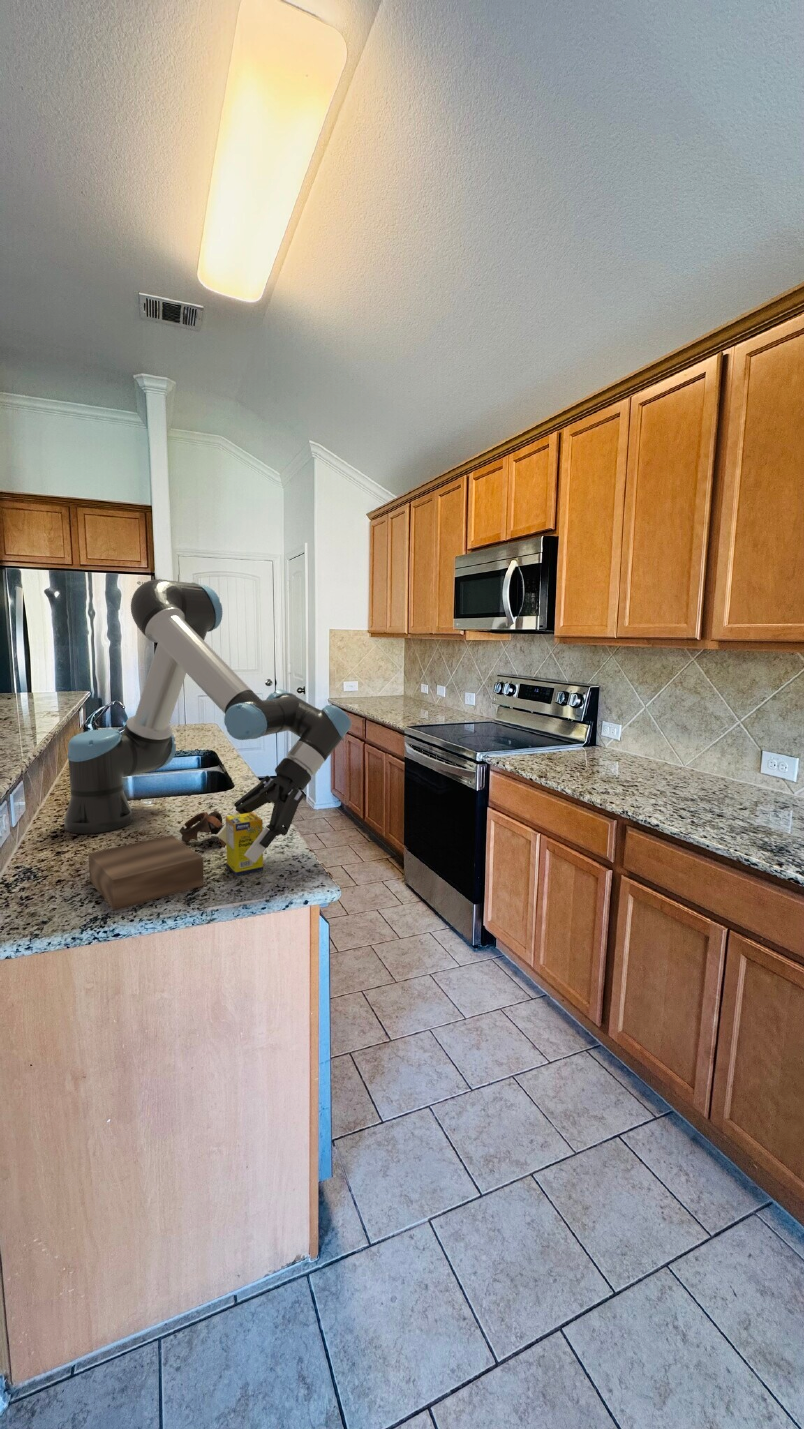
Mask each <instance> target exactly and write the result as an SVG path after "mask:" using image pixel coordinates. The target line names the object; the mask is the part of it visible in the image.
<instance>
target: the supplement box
mask: <svg viewBox="0 0 804 1429" xmlns="http://www.w3.org/2000/svg"><path fill="white" fill-rule="evenodd" d="M225 824H226V845H225V846H226V848H225V849H226V867H227V868H228V869H229V871H231V872H232V873H233V875H234V876H236V877H237V876H241V875H246V874H249V873H250V874H252V873H255V872H259V871H260V872H261V871H263V870H264V852H263V853H262V854H261V856H260V857H259V858H258V860H257V861H256V862H255V863H254V862H253V861H251V860H250V859H249V858H247V857H246V856H245V855H244V854H245V853H246V851H247V850H248V849H249V848H250V846H251V845H252V844H253V842H254V841H255V840H256V839H257V837H258V836H259V835H260V833H261V832H262V831H263V830H264V828H263V819H262V818H261V817H260V816H258V815H257V814H255V813H254V811H252V812H251V813H245V814H239V815H233V814H231V815H226V817H225Z"/></svg>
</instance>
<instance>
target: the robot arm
mask: <svg viewBox="0 0 804 1429" xmlns="http://www.w3.org/2000/svg"><path fill="white" fill-rule="evenodd" d="M130 611H131V612H130V613H131V617H132V619H133V621H134V624H135V625H136V626H137V628H138V630H140V632H141V633H142V635H143V636H145V637H146V638H147V640H148V641H150V642H152V643H157V645H156V648H155V650H154V654H153V657H152V661H151V662H150V667H149V670H148V673H147V677H146V680H145V683H144V686H143V689H142V693H141V695H140V700H139V702H138V705H137V708H136V712H135V715H133V716H131V717H128V718H127V720H126V721H125V722H126V723H125V726H124V728H123V731H122V732H121V731H120V730H119V729H116V728H100V729H92V730H87V731H82V732H81V733H77V734H75V735H74V736H73V737H71V738H70V739H69V741H68V744H67V759H68V769H69V770H68V773H69V790H70V799H69V803H68V806H67V809H66V812H65V815H64V820H63V823H64V830H65V831H66V832H69V833H72V834H82V835H83V834H86V835H88V834H98V833H99V834H101V833H107V832H111V831H115V830H119V829H121V828H124V827H126V826H128V825H130V824H132V822H133V811H132V809H131V806H130V803H129V802H128V799H127V797H126V794H125V792H124V778H127V777H131V776H132V777H133V776H135V775H140V774H144V773H148V772H149V773H151V772H155V771H158V770H160V769H161V768H164V767H166V766H167V765H169V764H170V763H171V762H172V760H173V759H174V757H175V754H176V751H177V744H176V743H175V741H176V737H175V736H174V733H173V728H172V727H171V725H170V723H171V720H172V716H173V714H174V710H175V708H176V705H177V701H178V699H179V697H180V692H181V691H182V687H183V684H184V681H185V679H186V676H187V675H188V677H190V678H191V679H192V681H193V682H194V683H195V684H196V685H197V686H198V687H199V688H200V689H201V690H202V692H204V693H205V694H206V696H207V697H208V698H209V699H211V701H212V702H213V704H215V706H217V707H218V708H219V709H220V710H221V711H222V713H224V717H223V718H224V720H223V721H224V726H225V727H226V731H227V733H228V734H229V735H230V737H232V738H234V740H235V739H236V740H239V741H240V740H241V741H244V740H245V741H246V740H256V739H259V738H261V737H265V736H270V735H273V734H279V733H282V732H286V731H287V732H288V731H289V732H291V733H292V734H294V735H295V736H297V737H300V738H299V739H298V740H297V741H296V742H295V744H294V745H293V746H291V748H290V750H289V751H288V752H287V753H286V756H287V757H284V758H282V760H281V761H280V762H279V763H278V764H277V766H276V767H275V768H274V773H275V774H276V776H275V777H274V778H273V779H272V777H271V776H269V775H266V776H264V778H263V779H262V780H261V781H260V782H259V783H258V784H256V785H255V786H254V787H253V788H251V789H250V790H249V791H248V792H246V793H245V794H244V795H243V796H241V797H240V798H239V799H238V800H237V801H235V802H234V804H233V806H234V807H235V812H234V813H233V814H232V815H239V814H245V813H252V812H255V811H256V810H257V809H259V808H262V806H264V805H266V804H271V803H272V804H273V807H272V811H271V817H270V820H269V824H267V825H266V826H265V827H264V828H263V831H262V832H261V833H260V835H259V836H258V837H257V839H256V840H255V841H254V842H253V844H252V845H251V846H250V848H249V849H248V850H247V851H246V853H245V854H244V855H245V856H246V857H247V858H249V859H250V860H251V861H253V862H254V863H255V862H256V861H257V860H258V858H259V857H260V856H261V854H262V853H263V854H264V852H265V851H266V849H267V848H268V847H270V845H271V843H272V842H273V841H274V840H275V838H276V837H278V836H280V835H282V836H286V835H287V834H288V832H289V831H290V828H291V825H292V823H293V820H294V817H295V816H296V811H297V809H298V807H299V805H300V803H301V802H302V800H303V798H304V796H305V794H304V792H302V791H304V790H305V788H306V787H307V785H309V783H310V781H312V776H315V775H316V774H317V772H318V771H319V770H320V769H321V767H322V765H323V764H324V763H325V762H326V761H327V759H328V758H329V756H330V755H331V754H332V753H333V751H334V750H335V749H336V748H337V746H338V745H339V744H340V743H341V741H343V740H344V738H345V737H346V734H347V733H348V732H349V730H350V729H351V727H352V721H351V718H350V717H349V715H348V714H347V713H346V712H345V711H344V710H342V709H341V708H340V707H338V706H336V705H333V704H327V705H325V706H324V707H323V708H322V709H319V708H316V707H315V706H313V705H312V704H310V703H308V702H306V701H305V700H303V699H301V698H300V697H298V696H297V695H296V694H294V693H291V692H288V691H287V690H284V689H281V688H280V689H276V690H274V691H273V692H272V693H270V694H269V695H268V696H267V698H266V699H261V698H260V696H258V695H257V694H256V693H255V692H254V691H253V690H252V689H251V688H250V687H249V686H248V685H247V684H246V683H245V682H244V680H243V679H241V677H240V676H239V675H237V673H236V672H235V671H234V670H233V669H232V668H231V667H230V666H229V665H228V664H227V663H226V662H225V661H224V660H223V658H221V657H220V655H218V654H217V652H216V651H215V650H213V649H212V647H211V646H210V644H208V643H207V641H205V638H206V637H207V633H208V632H209V633H210V632H212V631H214V630H215V629H217V628H218V627H219V626H220V625H221V622H222V620H223V605H222V603H221V602H220V597H219V595H218V594H217V592H215V590H214V589H213V588H211V587H210V586H209V585H208V586H207V585H205V584H199V583H197V582H187V581H185V582H184V581H176V580H167V579H161V578H158V579H157V578H156V579H150V580H148V581H146V582H143V583H142V584H140V585H139V586H138V587H137V589H136V590H135V591H134V593H133V595H132V597H131V601H130ZM215 836H216V837H217V838H218V839H219V838H220V839H221V840H223V841H224V842H225V843H226V823H225V824H224V825H223V828H222V829H221V830H220V831H219V833H218V834H215Z"/></svg>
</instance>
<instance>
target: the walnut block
mask: <svg viewBox="0 0 804 1429" xmlns="http://www.w3.org/2000/svg"><path fill="white" fill-rule="evenodd" d="M87 855H88V856H87V857H88V870H89V882H90V883H91V885H93V886H94V888H95V889H96V890H97V892H99V894H100V895H101V896H102V897H103V899H104V900H105V901H106V902H107V903H108V904H109V906H110V907H111V908H112V909H113V911H120V910H123V909H126V908H130V907H133V906H136V905H139V904H143V903H147V902H150V901H154V900H158V899H161V898H164V897H168V896H171V895H174V894H179V893H182V892H186V891H188V890H192V889H196V888H200V887H202V886H204V885H205V878H204V857H203V856H202V855H201V854H199V853H198V852H197V851H195V850H193V849H192V848H190V847H189V846H188V845H186V844H185V843H183V841H182V840H179V839H177V838H176V837H175V836H174V835H165V836H161V837H157V838H153V839H147V840H143V841H138V842H135V843H134V842H133V843H129V844H126V845H121V846H120V845H119V846H116V847H112V848H106V849H102V850H98V851H92V852H88V853H87Z"/></svg>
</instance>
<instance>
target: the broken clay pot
mask: <svg viewBox="0 0 804 1429" xmlns="http://www.w3.org/2000/svg"><path fill="white" fill-rule="evenodd" d="M223 826H224V825H223V816H222V814H221V813H219V811H211V812H210V813H208V812H206V811H204V812H200V813H197V814H196V815H194V816H193V817H191V818H190V819H188V820H187V821H186V822H185V823H184V826H181V828H180V829H179V833H180V835H181V842H182V843H183V842H184V843H186V844H188V843H189V841H192V840H194V841H199V838H198V834H199V832H200V833H206V834H208V833H210V834H211V835H217V834H218V833H219V831H220V830H221V829H222V828H223ZM218 841H219V842H220V844H221V847H224V846H226V843H225V842H224V841H223V840H221V839H220V838H219V837H218Z"/></svg>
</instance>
